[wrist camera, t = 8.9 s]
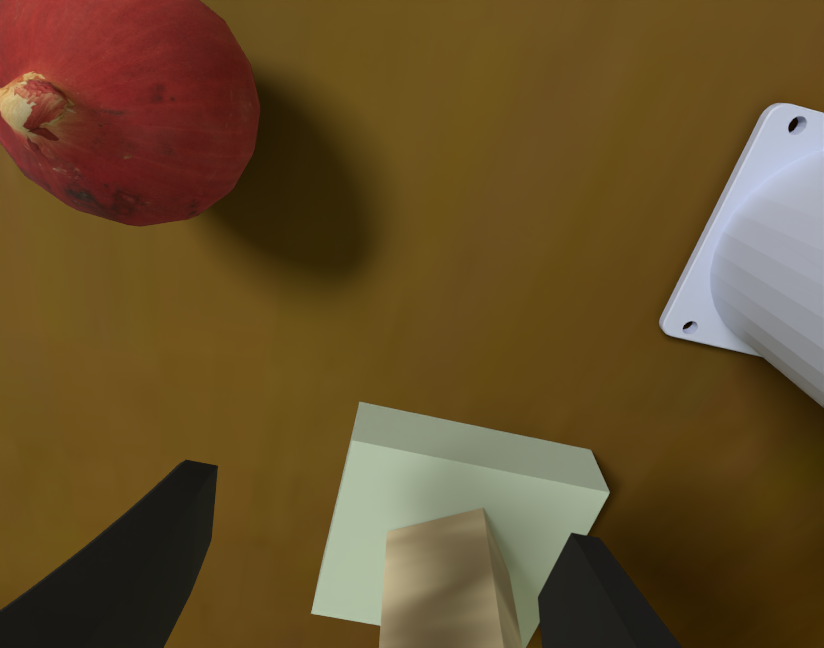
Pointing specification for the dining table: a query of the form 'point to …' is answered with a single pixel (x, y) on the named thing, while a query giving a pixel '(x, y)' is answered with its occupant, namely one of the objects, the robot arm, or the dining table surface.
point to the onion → (126, 105)
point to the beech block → (447, 587)
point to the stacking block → (452, 503)
